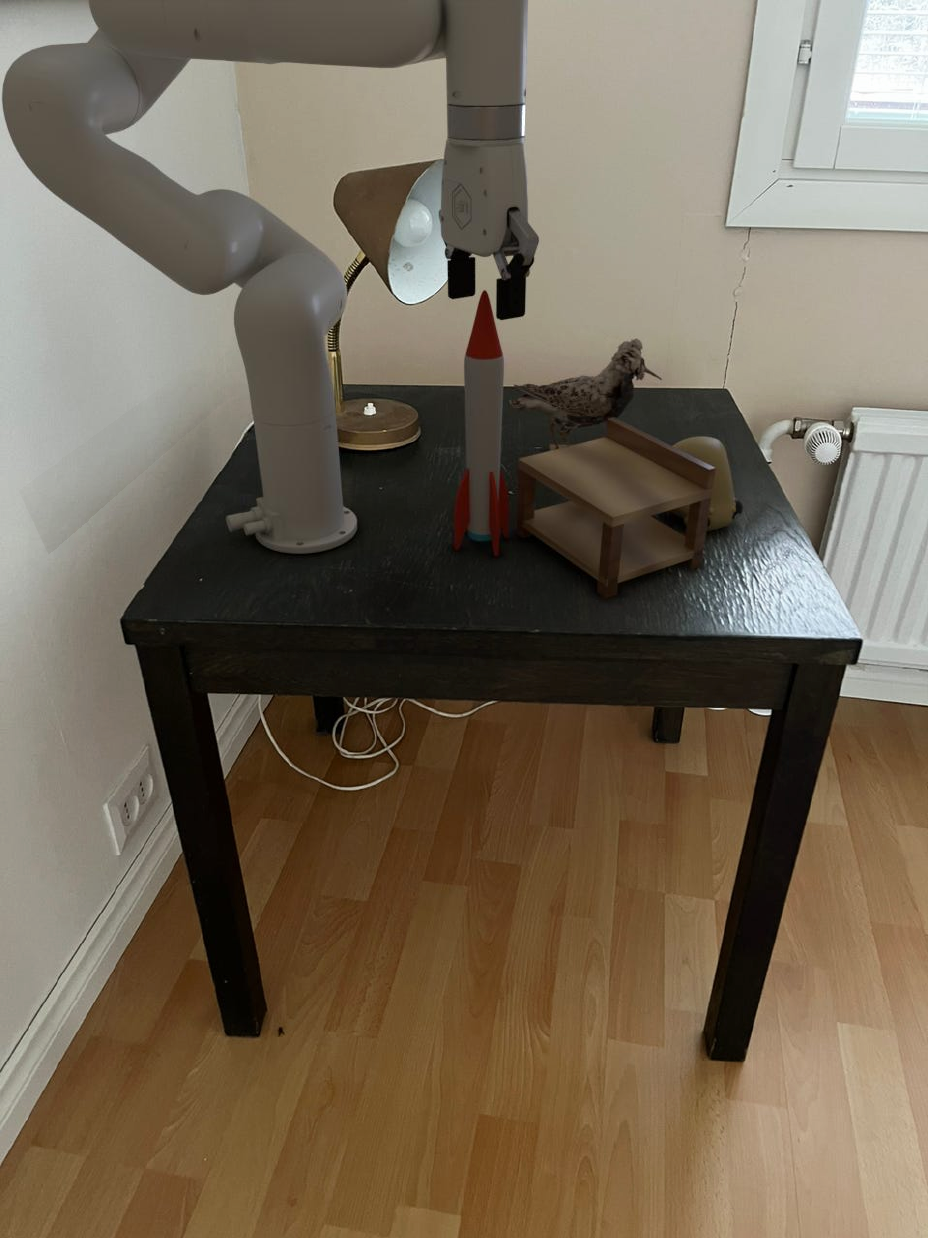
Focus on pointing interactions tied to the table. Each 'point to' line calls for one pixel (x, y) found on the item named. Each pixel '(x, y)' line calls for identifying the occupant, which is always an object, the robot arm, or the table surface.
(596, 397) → the stuffed bird
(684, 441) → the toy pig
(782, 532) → the table surface
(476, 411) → the toy rocket
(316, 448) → the robot arm
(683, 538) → the rack
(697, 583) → the table surface
